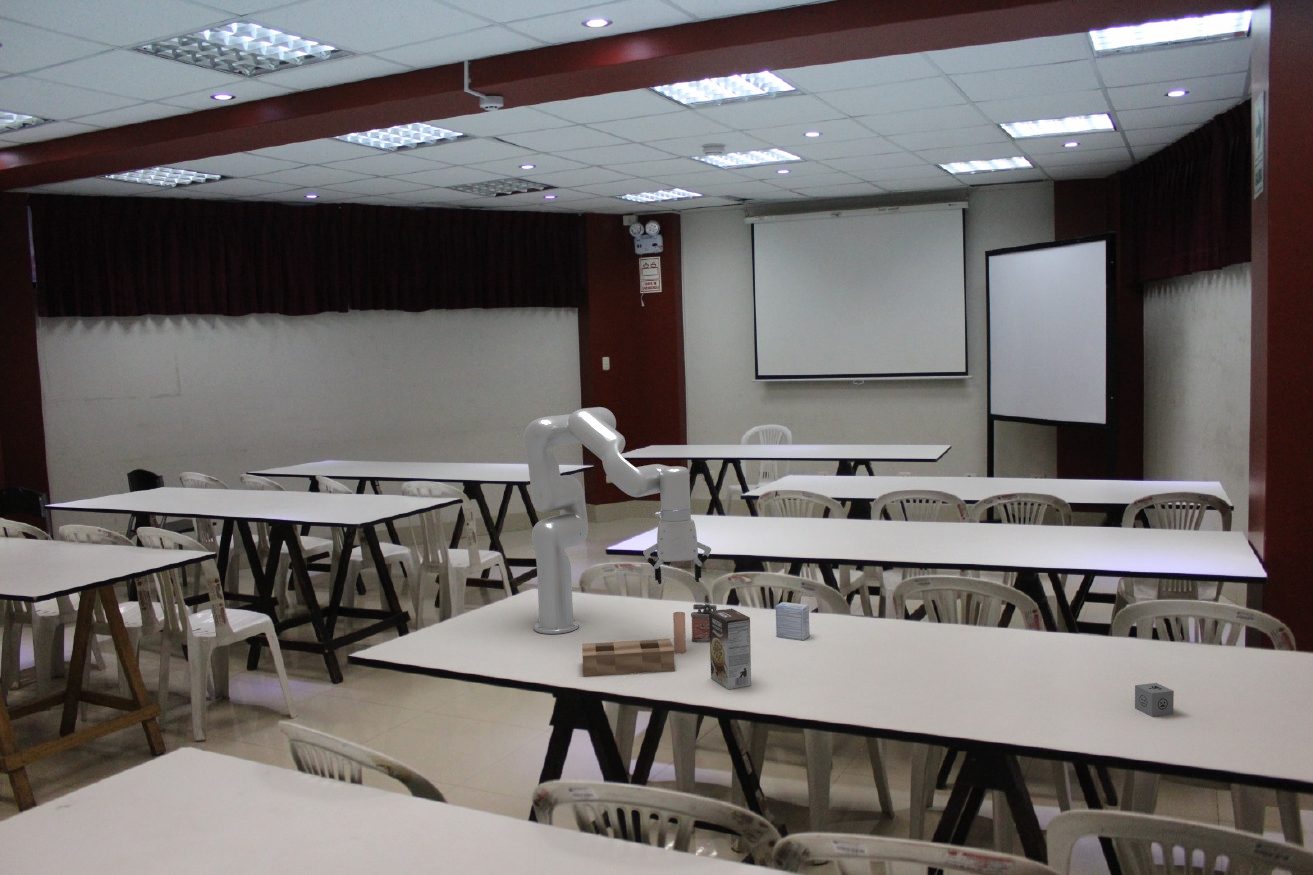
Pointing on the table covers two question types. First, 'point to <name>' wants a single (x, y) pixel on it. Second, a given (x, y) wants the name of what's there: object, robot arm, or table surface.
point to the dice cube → (1154, 699)
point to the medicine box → (792, 621)
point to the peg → (679, 632)
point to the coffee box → (730, 648)
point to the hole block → (628, 657)
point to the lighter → (701, 623)
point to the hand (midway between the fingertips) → (678, 582)
